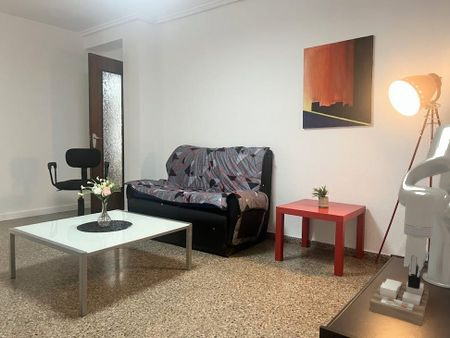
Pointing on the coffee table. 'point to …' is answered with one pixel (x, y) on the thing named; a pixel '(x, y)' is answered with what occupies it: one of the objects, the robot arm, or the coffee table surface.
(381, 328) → the coffee table surface
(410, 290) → the button
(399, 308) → the button board
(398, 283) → the button
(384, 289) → the button
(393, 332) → the coffee table surface
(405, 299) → the button
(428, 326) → the coffee table surface
